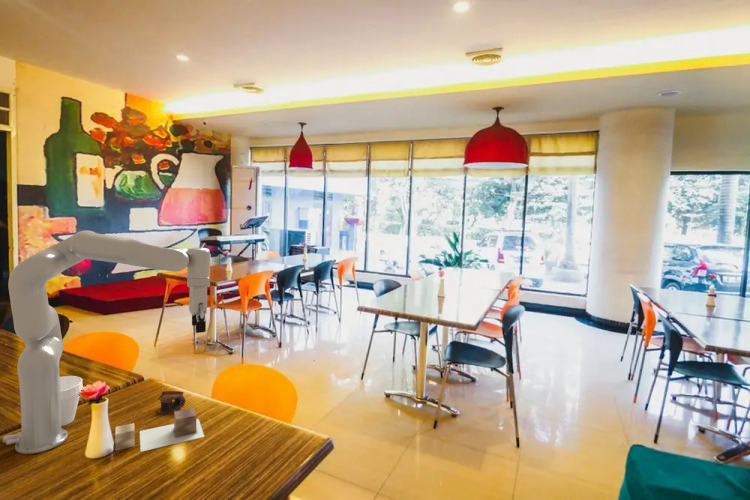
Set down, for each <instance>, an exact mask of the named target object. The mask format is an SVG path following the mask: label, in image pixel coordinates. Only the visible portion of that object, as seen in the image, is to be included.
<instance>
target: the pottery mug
mask: <svg viewBox="0 0 750 500" xmlns="http://www.w3.org/2000/svg"><path fill="white" fill-rule="evenodd" d="M184 393H185V392H184V391H179V390H166V391H165V390H164V391H162V392H161V395H160V396H159V397H158V398H157V400H158V401H159V402H160V407H158V408H157V409H156V411H157V413H159V414H171V413H174V411H179V410H182V408H183V407H184V405H185V404H186V397H185V396H184Z"/></svg>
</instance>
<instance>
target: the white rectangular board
mask: <svg viewBox="0 0 750 500" xmlns="http://www.w3.org/2000/svg"><path fill="white" fill-rule="evenodd" d="M204 437H205V434H204V431H203V427H202V424H201V422H200V420H199V418H196V433H193V434H189V435H185V436H180V437H176V434H175V429H174V423H172V424H166V425H161V426H158V427H152V428H147V429H143V430H140V431H139V444H140V452H144V451H149V450H153V449H154V450H155V449H158V448H162V447H163V448H164V447H165V446H171V445H175V444H178V443H183V442H188V441H192V440H196V439H200V438H204Z"/></svg>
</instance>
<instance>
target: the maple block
mask: <svg viewBox="0 0 750 500" xmlns="http://www.w3.org/2000/svg"><path fill="white" fill-rule="evenodd" d="M135 431H136V430H135V423H134V422H133V423H128V424H123V425H118V426H115V434H114V436H115V437H114V440H115V441H114V443H115V451H121V450H124V449H130V448H133V447H136V445H135V442H136V441H135V437H136V436H135Z"/></svg>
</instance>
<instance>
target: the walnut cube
mask: <svg viewBox="0 0 750 500" xmlns="http://www.w3.org/2000/svg"><path fill="white" fill-rule="evenodd" d="M173 415H174V416H173V417H174V418H173V419H174V421H173V422H174V423H173V424H174V429H175V434H176V437H180V436H185V435H189V434H193V433H196V419H197V413H196V410H195V407H190V408H186V409H180V410H179V411H176V410H174V411H173Z"/></svg>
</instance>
